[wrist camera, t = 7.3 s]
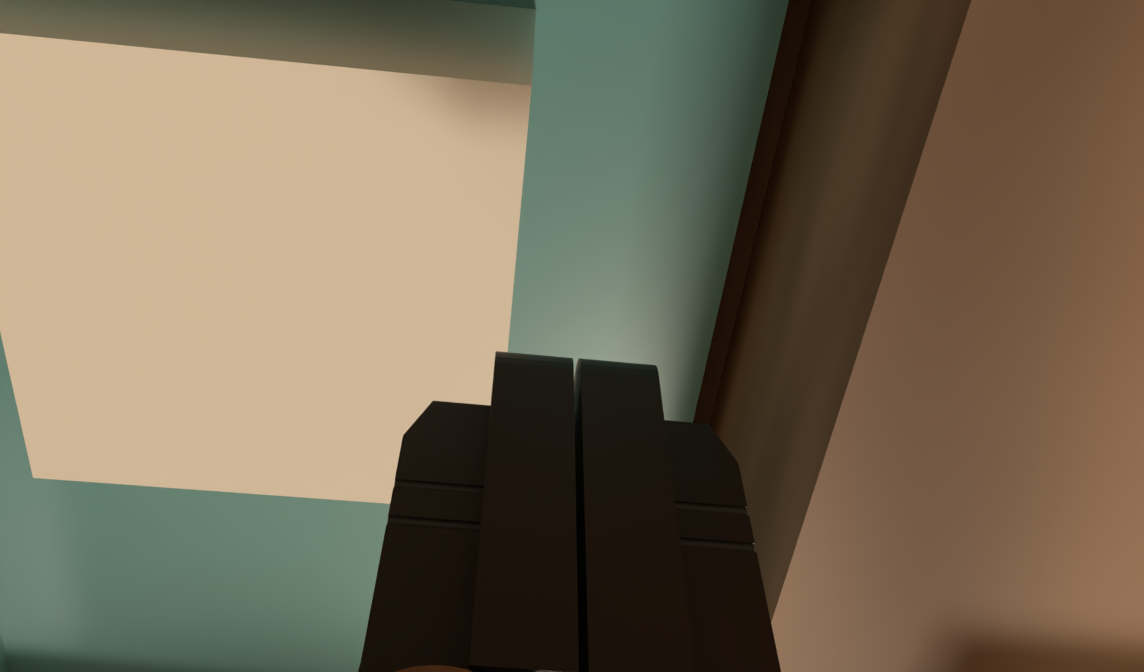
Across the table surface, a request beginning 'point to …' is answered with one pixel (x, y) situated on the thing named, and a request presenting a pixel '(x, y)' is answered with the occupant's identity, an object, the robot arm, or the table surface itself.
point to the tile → (255, 232)
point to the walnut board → (950, 342)
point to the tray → (538, 326)
